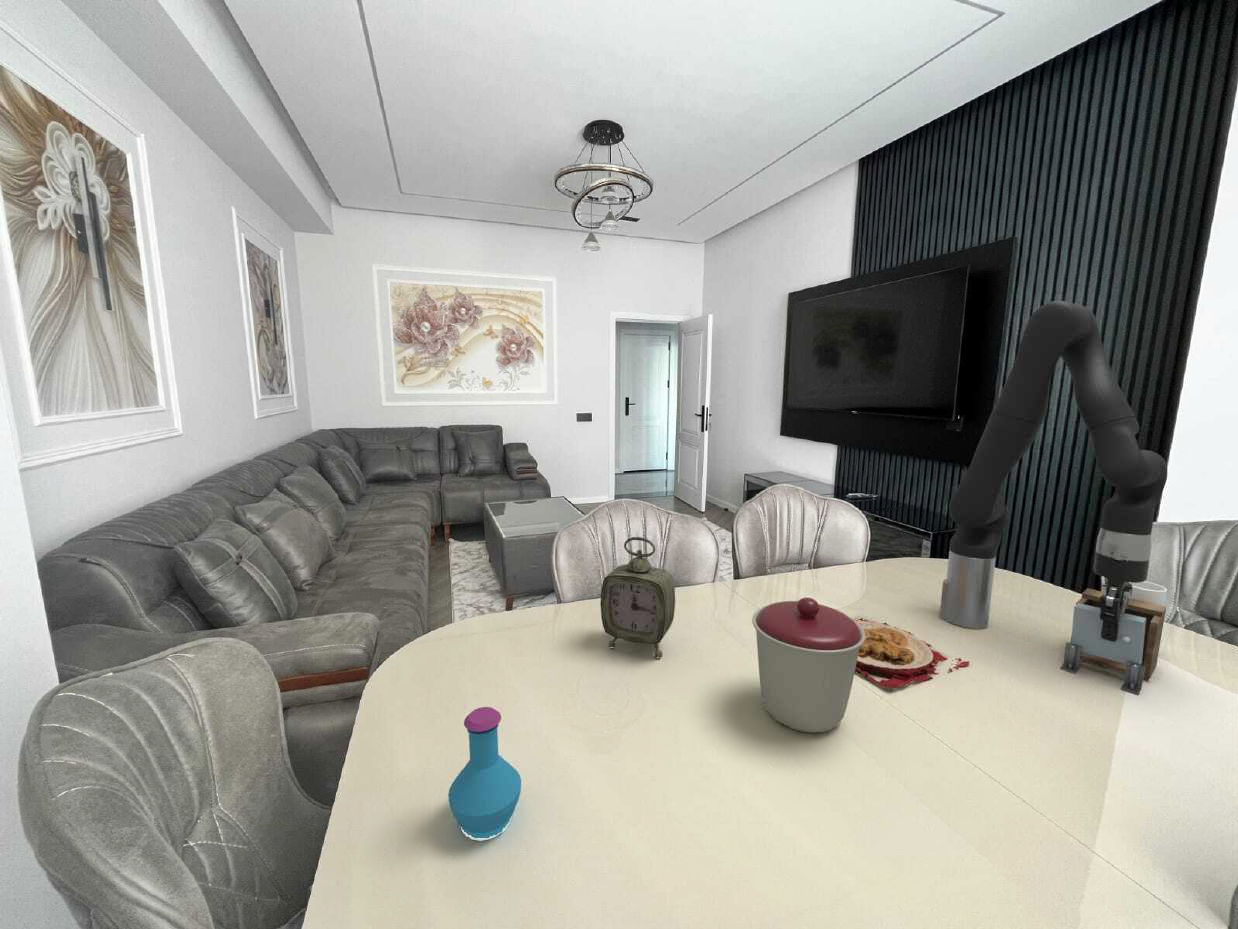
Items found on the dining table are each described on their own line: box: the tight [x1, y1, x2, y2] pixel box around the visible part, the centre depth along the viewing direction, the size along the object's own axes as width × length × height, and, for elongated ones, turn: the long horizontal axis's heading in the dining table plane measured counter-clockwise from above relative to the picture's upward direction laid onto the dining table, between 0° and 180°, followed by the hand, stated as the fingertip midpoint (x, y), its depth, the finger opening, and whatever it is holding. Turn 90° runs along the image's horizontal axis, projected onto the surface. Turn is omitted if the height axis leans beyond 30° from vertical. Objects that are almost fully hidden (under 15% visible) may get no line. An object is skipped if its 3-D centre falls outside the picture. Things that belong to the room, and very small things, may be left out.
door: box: [1070, 603, 1146, 664], centre depth 102 cm, size 10×4×9 cm, turn 38°
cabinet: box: [1070, 588, 1167, 682], centre depth 107 cm, size 12×9×13 cm
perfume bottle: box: [448, 706, 522, 838], centre depth 67 cm, size 9×9×15 cm
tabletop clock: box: [600, 536, 676, 658], centre depth 111 cm, size 14×9×25 cm, turn 68°
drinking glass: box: [1129, 580, 1168, 607], centre depth 111 cm, size 7×7×15 cm
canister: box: [751, 597, 866, 733], centre depth 89 cm, size 18×18×21 cm
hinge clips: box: [1059, 641, 1145, 696], centre depth 101 cm, size 11×3×5 cm, turn 37°
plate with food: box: [852, 617, 970, 690], centre depth 113 cm, size 25×26×4 cm
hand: (1110, 636), depth 102 cm, fingers closed on door, 3 cm apart
